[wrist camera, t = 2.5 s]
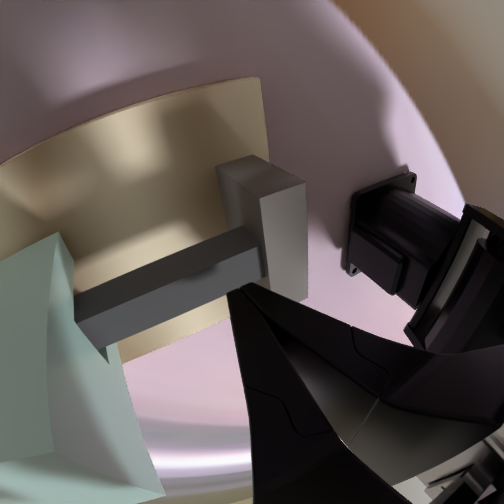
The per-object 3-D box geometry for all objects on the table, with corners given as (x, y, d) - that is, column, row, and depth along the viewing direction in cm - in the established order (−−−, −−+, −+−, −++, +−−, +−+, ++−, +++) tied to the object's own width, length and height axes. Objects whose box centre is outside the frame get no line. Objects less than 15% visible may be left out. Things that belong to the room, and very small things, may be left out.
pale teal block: (58, 231, 9) (54, 451, 3) (113, 324, 12) (166, 495, 6) (-48, 290, 7) (-83, 467, 1) (16, 365, 10) (29, 517, 4)
